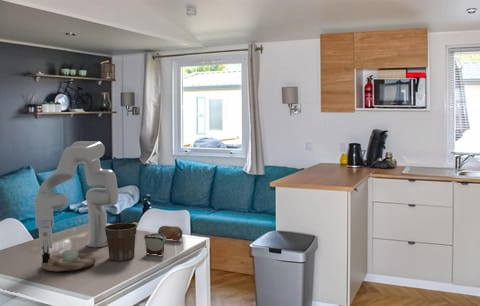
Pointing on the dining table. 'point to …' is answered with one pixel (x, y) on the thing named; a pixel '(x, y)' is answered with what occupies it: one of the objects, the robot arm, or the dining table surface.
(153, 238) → the food container
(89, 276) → the dining table surface
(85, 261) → the disc
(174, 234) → the tin
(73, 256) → the sage green rounded cylinder
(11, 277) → the dining table surface
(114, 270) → the dining table surface
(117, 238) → the plant pot
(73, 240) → the dining table surface
